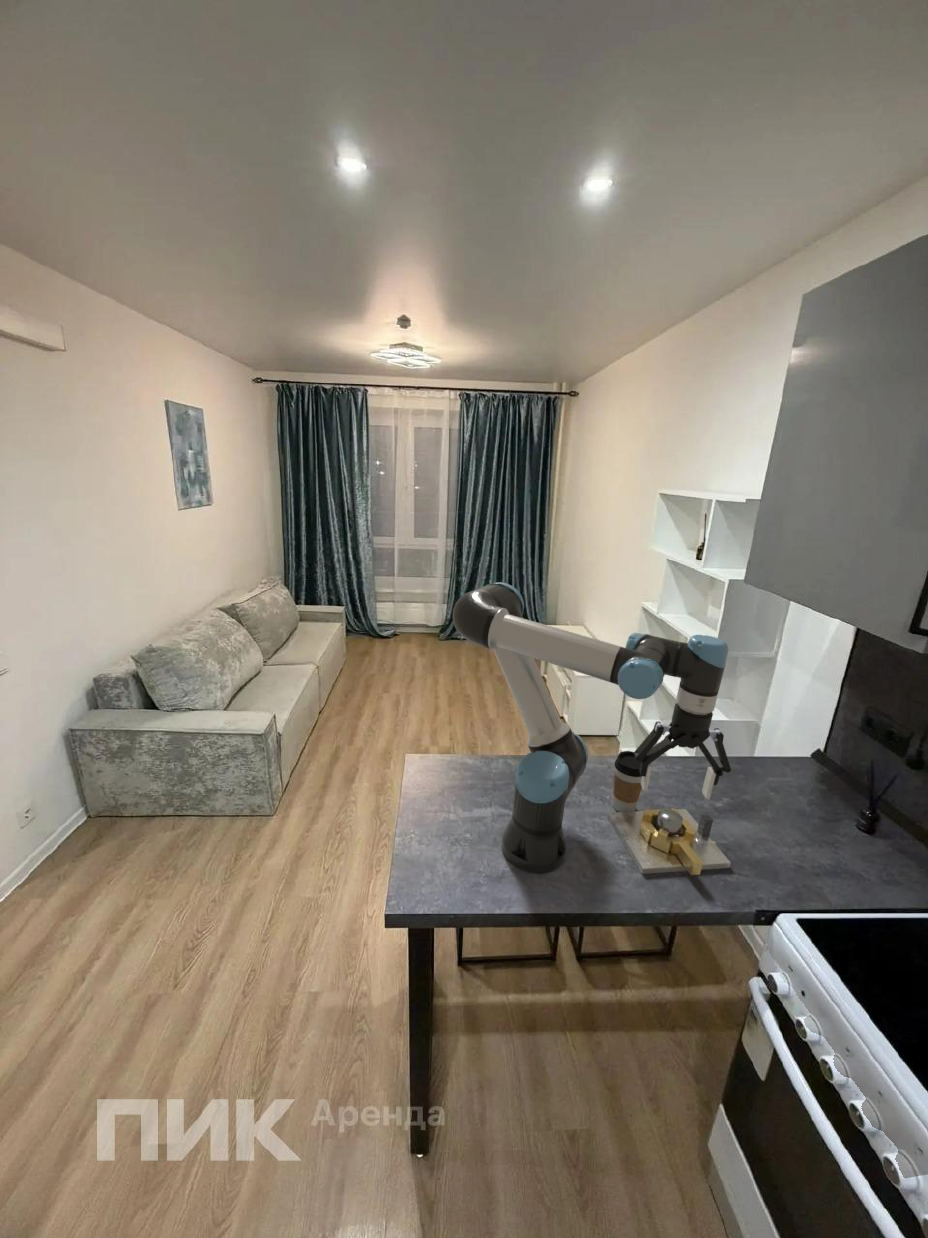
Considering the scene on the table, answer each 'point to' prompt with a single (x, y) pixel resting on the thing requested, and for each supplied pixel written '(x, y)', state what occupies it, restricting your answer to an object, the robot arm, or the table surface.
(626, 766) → the coffee cup
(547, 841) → the robot arm
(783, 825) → the table surface
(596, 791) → the table surface
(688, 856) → the brass ball clamp
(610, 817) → the flange plate
